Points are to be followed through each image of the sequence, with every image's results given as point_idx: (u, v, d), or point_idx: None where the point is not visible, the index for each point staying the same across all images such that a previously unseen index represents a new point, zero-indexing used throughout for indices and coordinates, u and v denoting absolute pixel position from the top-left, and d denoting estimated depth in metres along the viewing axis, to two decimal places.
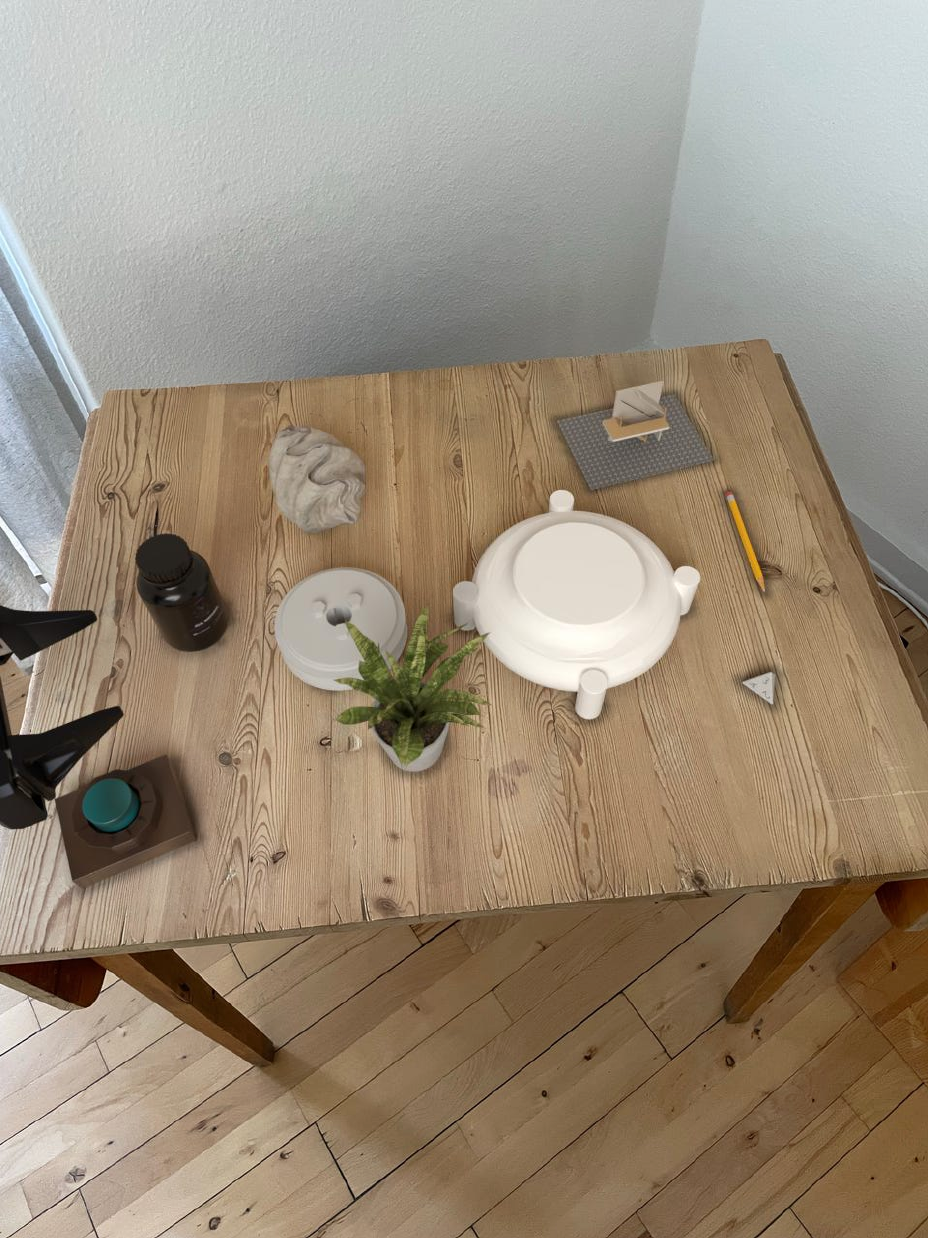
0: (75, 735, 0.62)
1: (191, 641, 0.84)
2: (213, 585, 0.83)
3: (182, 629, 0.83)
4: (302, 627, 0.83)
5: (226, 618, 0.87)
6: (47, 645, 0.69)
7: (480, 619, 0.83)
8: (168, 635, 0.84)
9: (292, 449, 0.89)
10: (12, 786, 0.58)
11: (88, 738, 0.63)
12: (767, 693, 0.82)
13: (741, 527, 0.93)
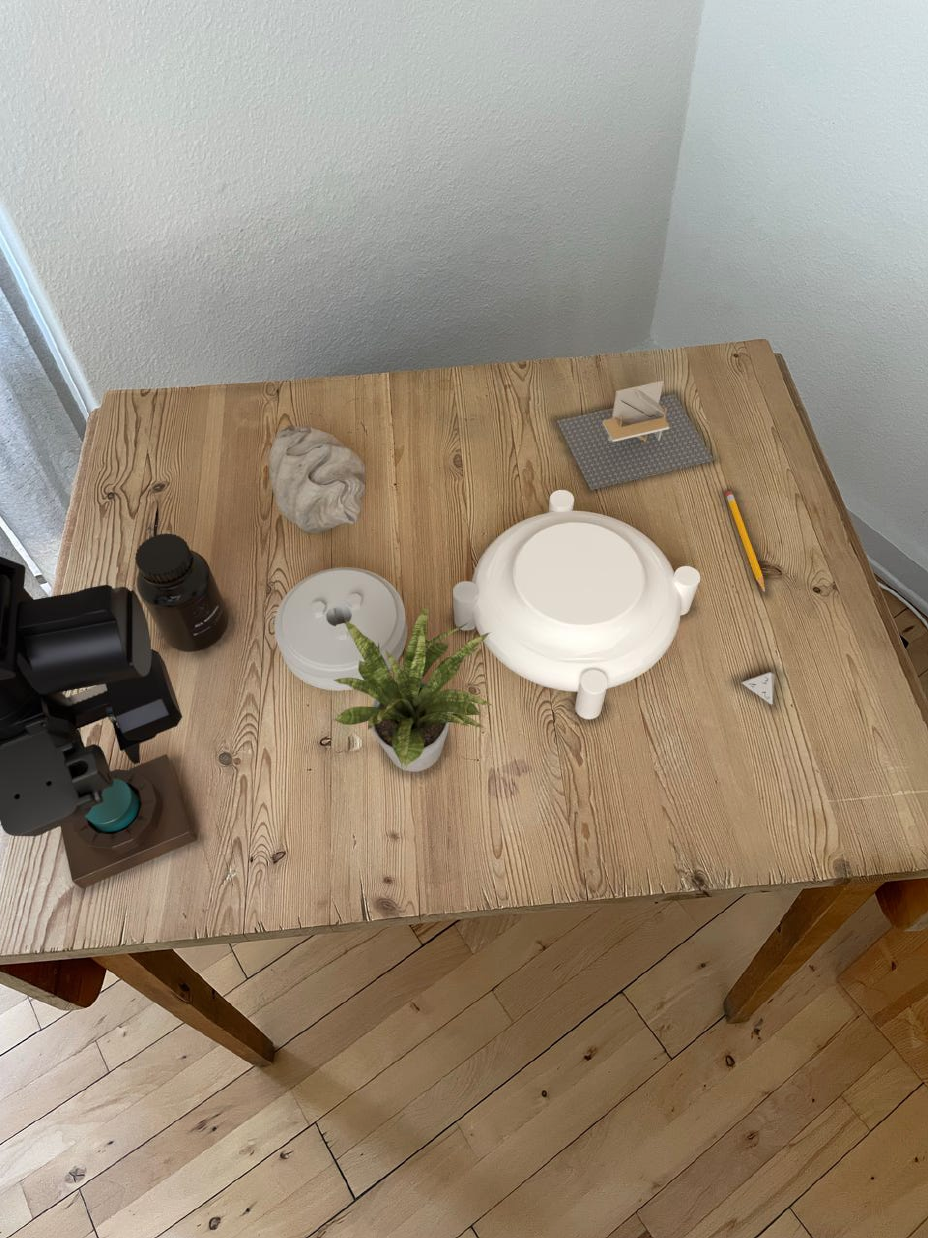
0: None
1: (191, 641, 0.84)
2: (213, 585, 0.83)
3: (182, 629, 0.83)
4: (302, 627, 0.83)
5: (226, 618, 0.87)
6: None
7: (480, 619, 0.83)
8: (168, 635, 0.84)
9: (292, 449, 0.89)
10: None
11: None
12: (766, 693, 0.82)
13: (741, 527, 0.93)
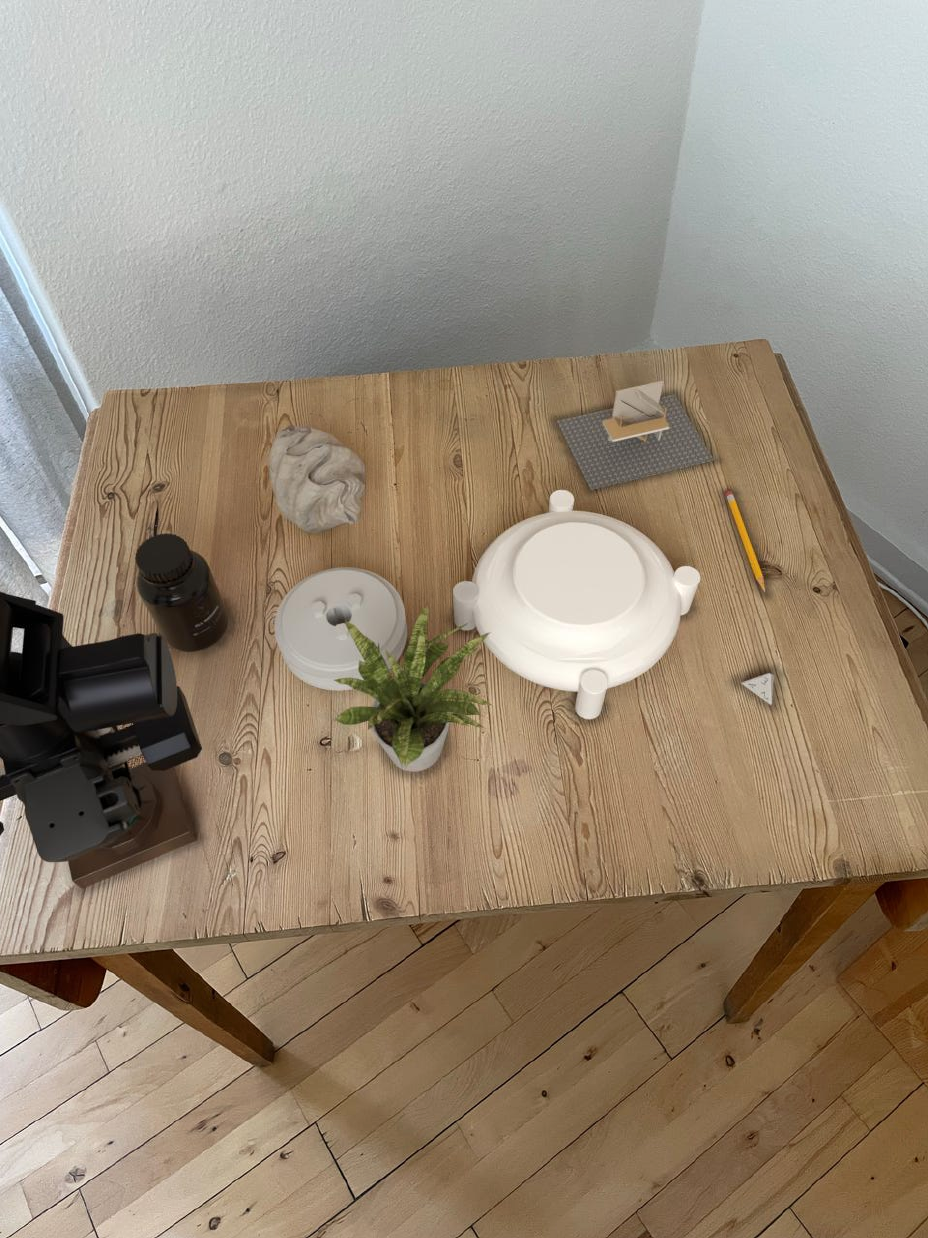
0: None
1: (191, 641, 0.84)
2: (213, 585, 0.83)
3: (182, 629, 0.83)
4: (302, 627, 0.83)
5: (226, 618, 0.87)
6: None
7: (480, 619, 0.83)
8: (168, 635, 0.84)
9: (292, 449, 0.89)
10: None
11: None
12: (766, 694, 0.82)
13: (741, 527, 0.93)
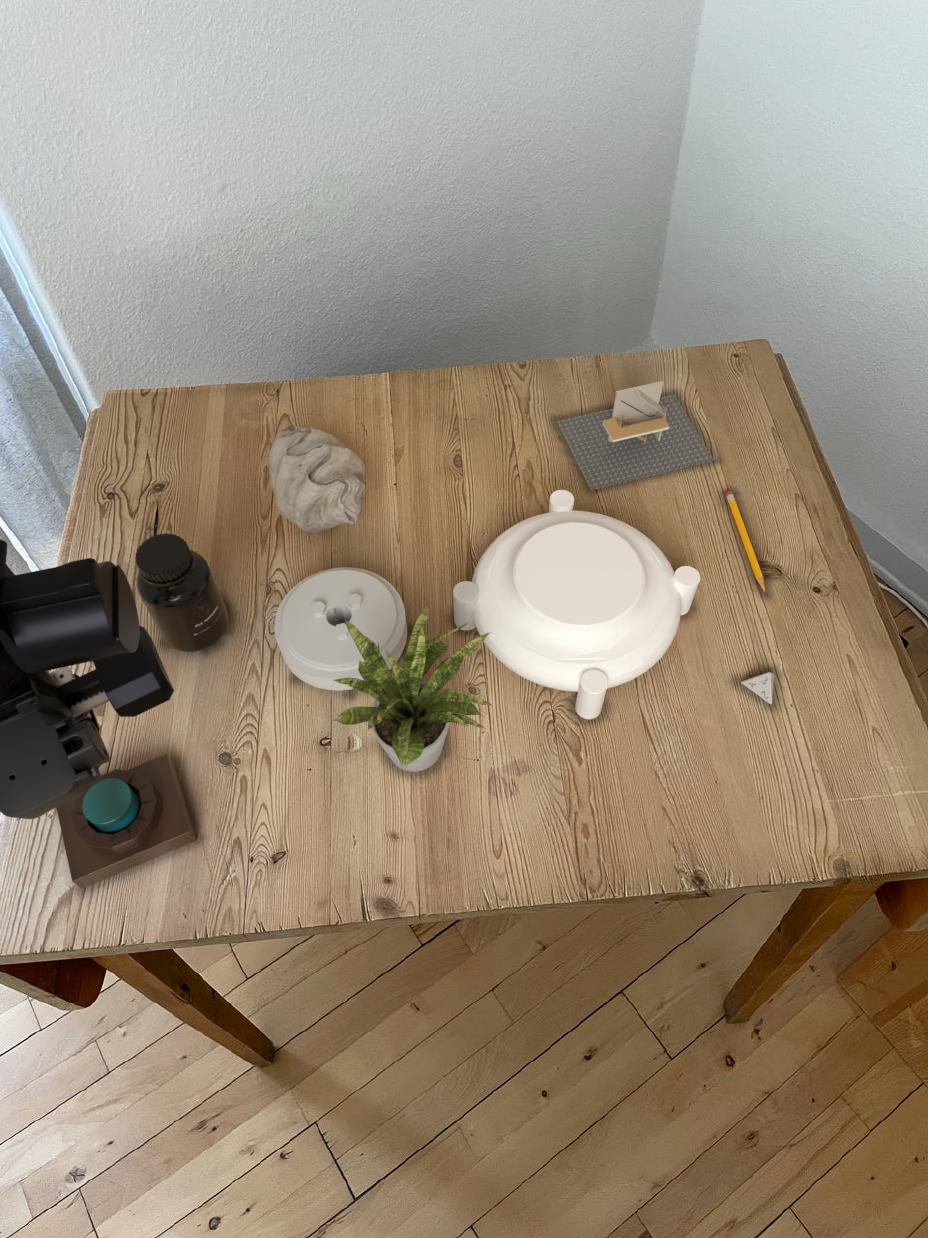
0: None
1: (191, 641, 0.84)
2: (213, 585, 0.83)
3: (182, 629, 0.83)
4: (302, 627, 0.83)
5: (226, 618, 0.87)
6: None
7: (480, 619, 0.83)
8: (168, 635, 0.84)
9: (292, 449, 0.89)
10: None
11: None
12: (766, 693, 0.82)
13: (741, 527, 0.93)
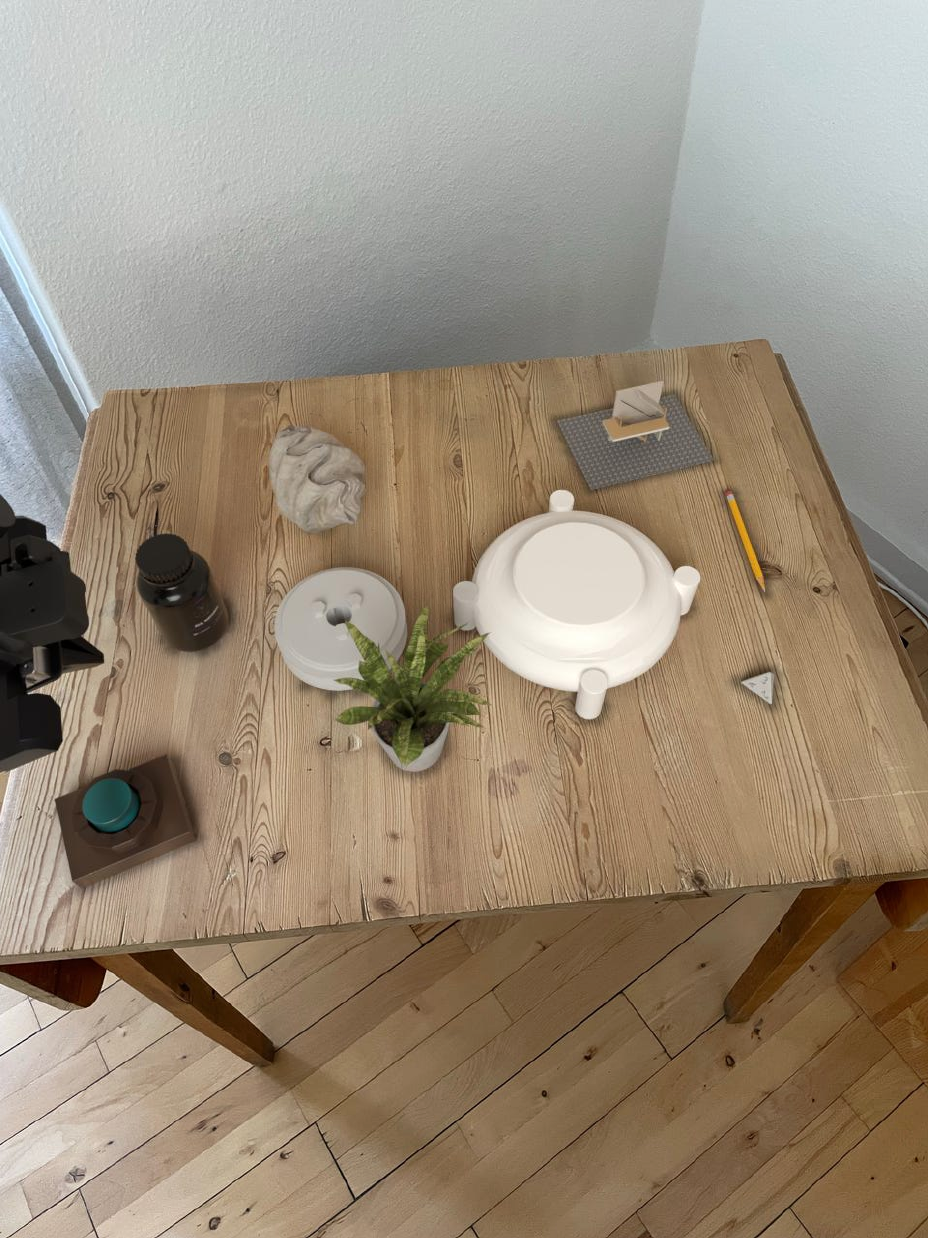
0: (77, 664, 0.69)
1: (191, 641, 0.84)
2: (213, 585, 0.83)
3: (182, 629, 0.83)
4: (302, 627, 0.83)
5: (226, 618, 0.87)
6: None
7: (480, 619, 0.83)
8: (168, 635, 0.84)
9: (292, 449, 0.89)
10: None
11: (71, 669, 0.70)
12: (766, 693, 0.82)
13: (741, 526, 0.93)
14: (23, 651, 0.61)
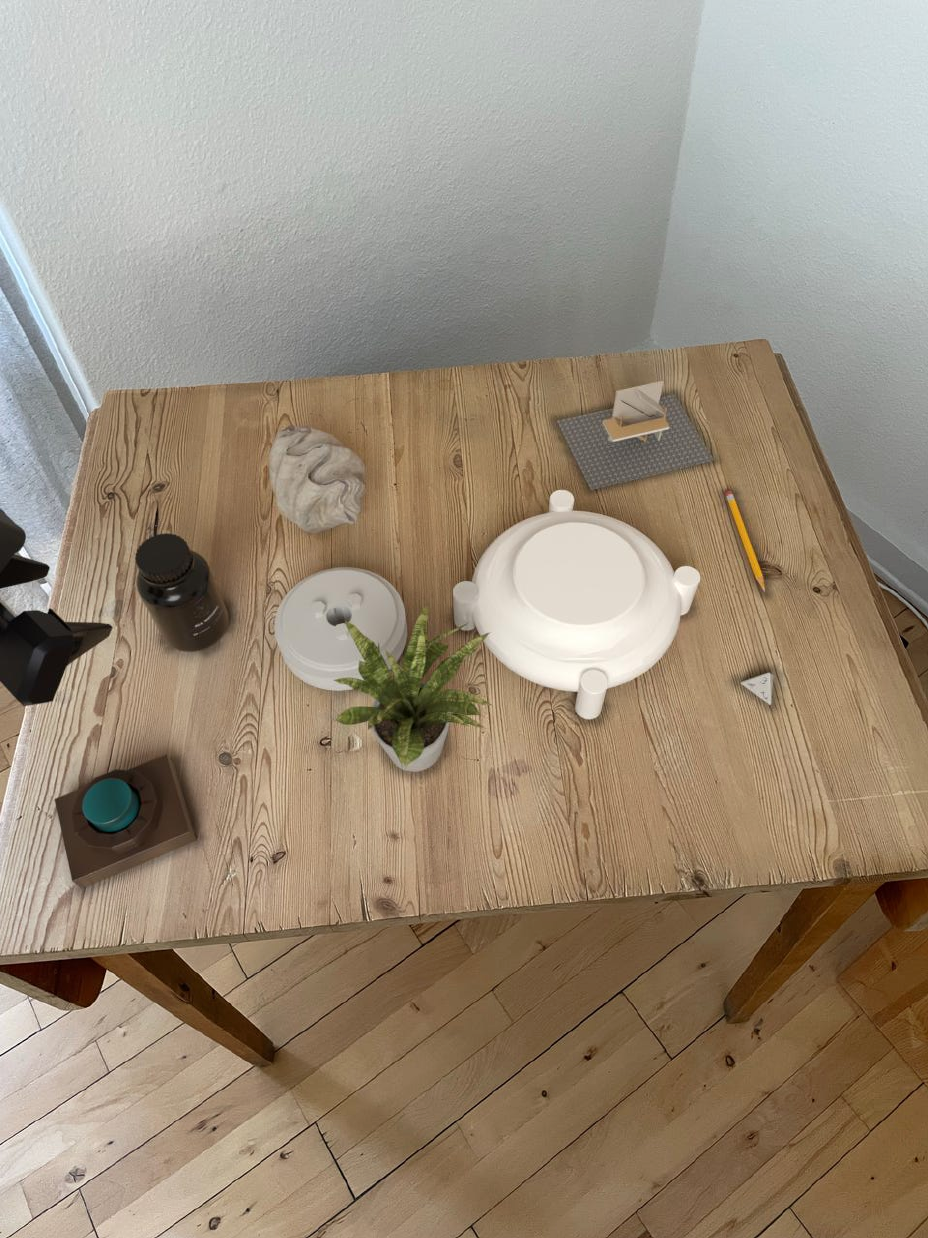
0: (87, 632, 0.68)
1: (191, 641, 0.84)
2: (213, 585, 0.83)
3: (182, 629, 0.83)
4: (302, 627, 0.83)
5: (226, 618, 0.87)
6: None
7: (480, 619, 0.83)
8: (168, 635, 0.84)
9: (292, 449, 0.89)
10: None
11: (86, 643, 0.69)
12: (765, 693, 0.82)
13: (741, 526, 0.93)
14: None
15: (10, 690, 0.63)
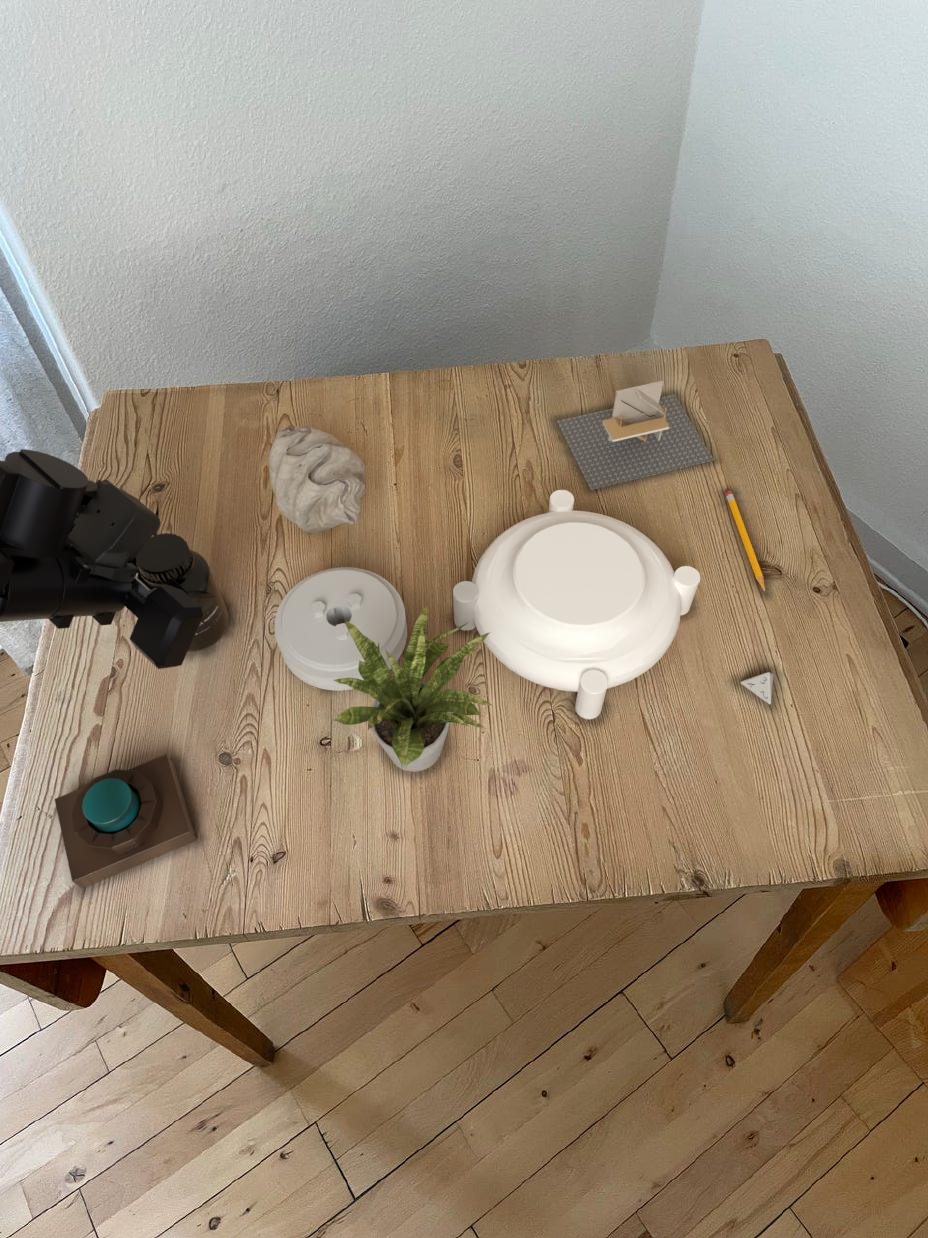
0: (197, 600, 0.78)
1: None
2: (213, 585, 0.83)
3: None
4: (302, 627, 0.83)
5: (226, 618, 0.87)
6: None
7: (480, 619, 0.83)
8: None
9: (292, 449, 0.89)
10: None
11: None
12: (765, 693, 0.82)
13: (741, 526, 0.93)
14: (128, 566, 0.72)
15: (148, 654, 0.72)
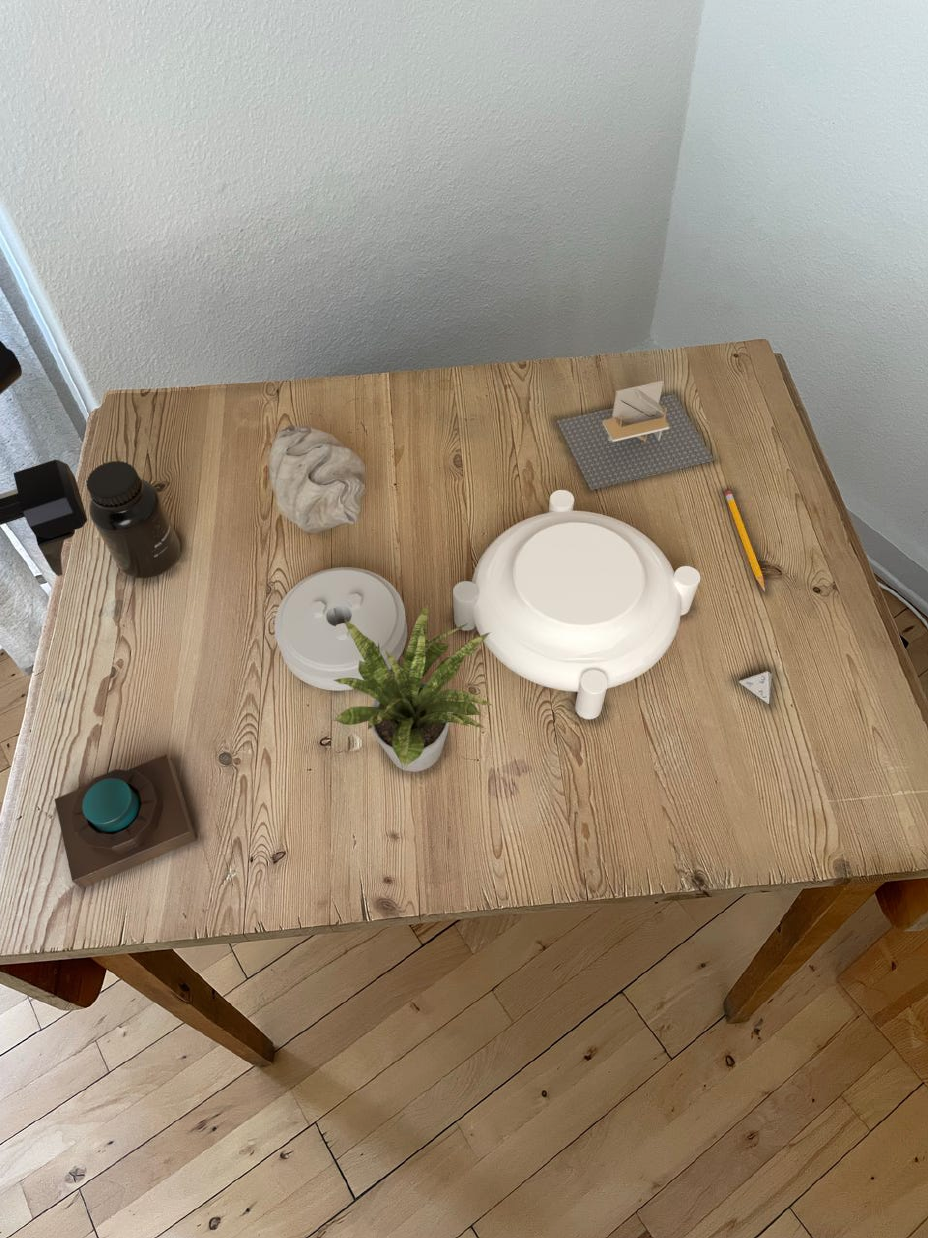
0: None
1: (153, 564, 0.90)
2: (163, 505, 0.88)
3: (143, 551, 0.88)
4: (302, 627, 0.83)
5: (178, 540, 0.93)
6: None
7: (480, 619, 0.83)
8: (130, 562, 0.89)
9: (292, 449, 0.89)
10: None
11: None
12: (763, 692, 0.82)
13: (740, 526, 0.93)
14: None
15: (55, 498, 0.67)
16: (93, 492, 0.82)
